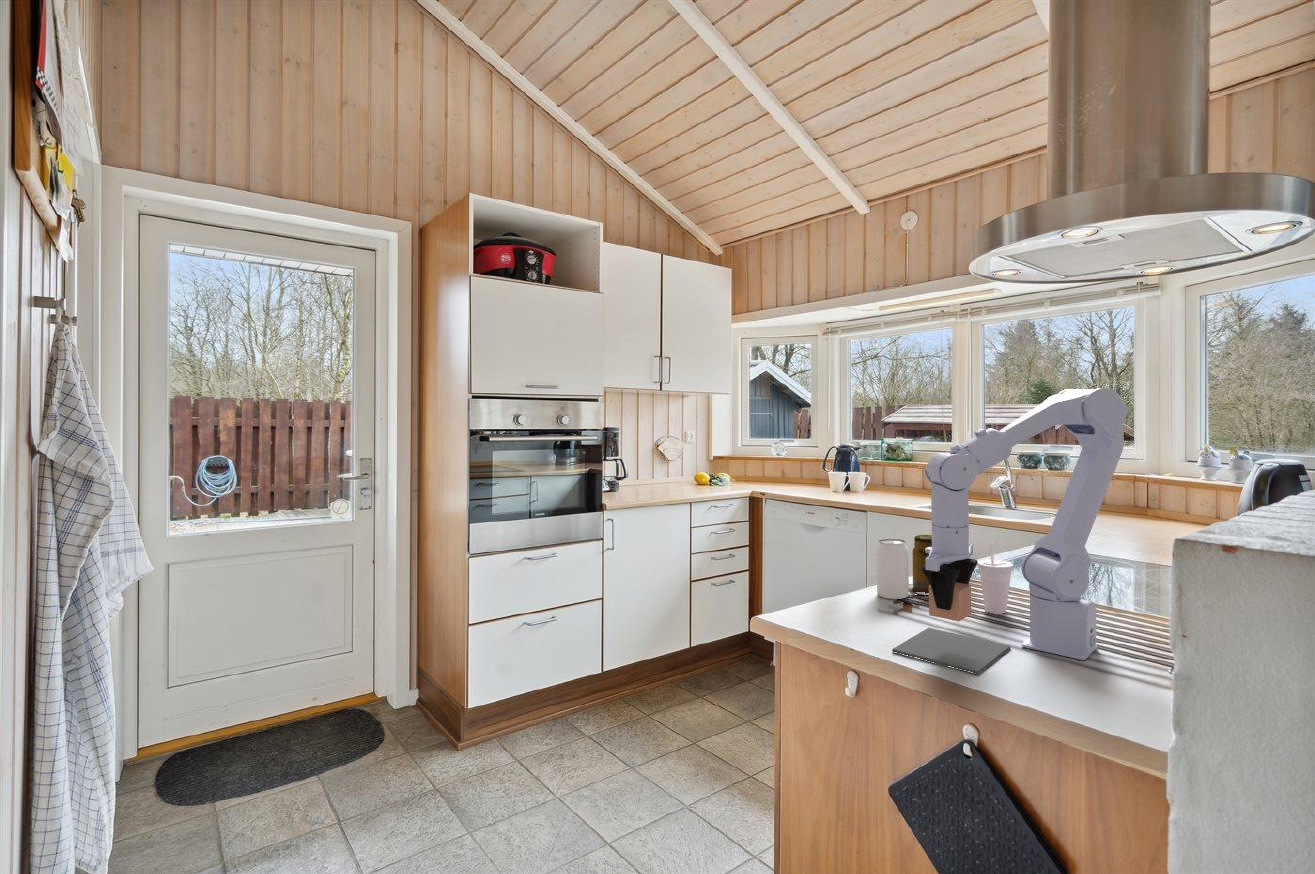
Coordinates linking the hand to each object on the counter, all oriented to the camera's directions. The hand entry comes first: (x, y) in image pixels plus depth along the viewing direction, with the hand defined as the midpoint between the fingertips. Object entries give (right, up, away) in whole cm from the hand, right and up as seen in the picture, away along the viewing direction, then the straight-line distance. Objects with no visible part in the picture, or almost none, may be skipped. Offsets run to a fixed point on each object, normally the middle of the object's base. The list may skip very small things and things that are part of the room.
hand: (950, 604), depth 114 cm
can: (+2, -6, +32) cm, 33 cm away
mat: (0, -8, 0) cm, 8 cm away
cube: (0, -2, 0) cm, 2 cm away
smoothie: (+18, -7, +20) cm, 27 cm away
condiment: (+10, -6, +35) cm, 37 cm away
